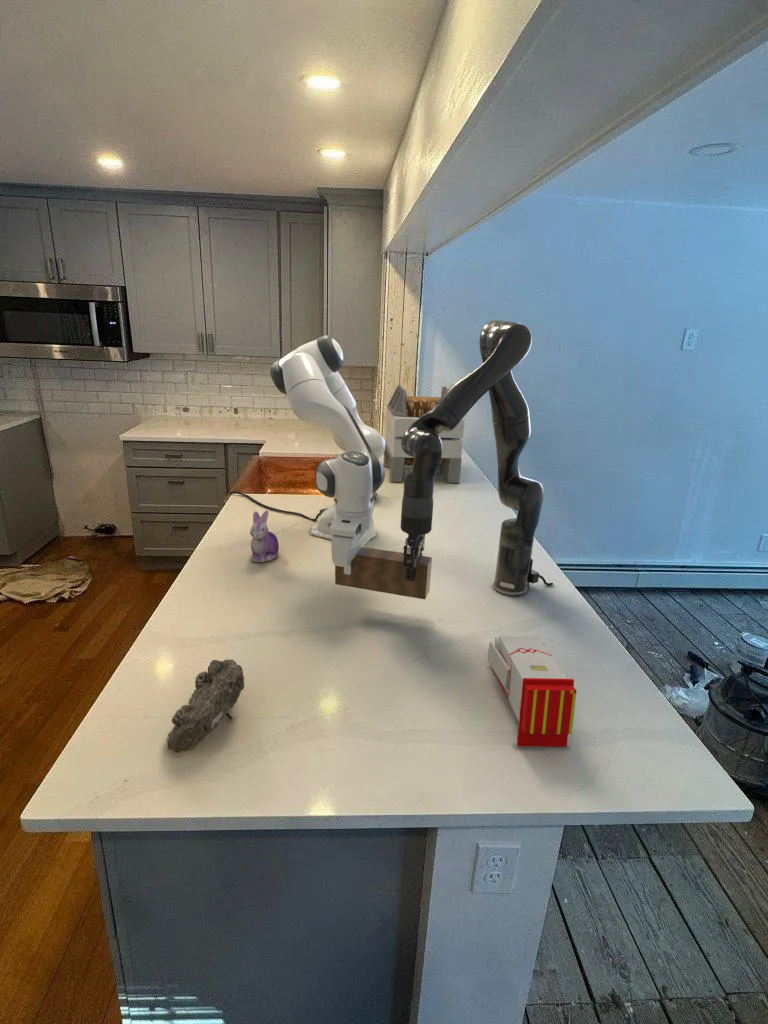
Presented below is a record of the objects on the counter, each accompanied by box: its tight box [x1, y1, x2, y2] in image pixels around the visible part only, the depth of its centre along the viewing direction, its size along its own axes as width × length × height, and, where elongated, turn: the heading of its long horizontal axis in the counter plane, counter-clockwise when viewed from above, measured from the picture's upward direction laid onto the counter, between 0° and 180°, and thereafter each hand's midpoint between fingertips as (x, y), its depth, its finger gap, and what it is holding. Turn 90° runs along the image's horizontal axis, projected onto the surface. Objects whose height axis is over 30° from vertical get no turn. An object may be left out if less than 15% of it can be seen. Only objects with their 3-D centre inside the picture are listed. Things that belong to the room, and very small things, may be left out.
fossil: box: [166, 658, 245, 754], centre depth 106 cm, size 22×10×15 cm
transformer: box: [382, 384, 465, 484], centre depth 268 cm, size 34×33×41 cm
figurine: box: [249, 509, 280, 563], centre depth 174 cm, size 9×10×15 cm
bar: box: [334, 546, 433, 600], centre depth 144 cm, size 24×5×9 cm, turn 74°
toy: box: [486, 635, 577, 748], centre depth 115 cm, size 12×13×30 cm
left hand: (352, 568), depth 146 cm, fingers closed on bar, 5 cm apart
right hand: (412, 574), depth 142 cm, fingers open, 6 cm apart
